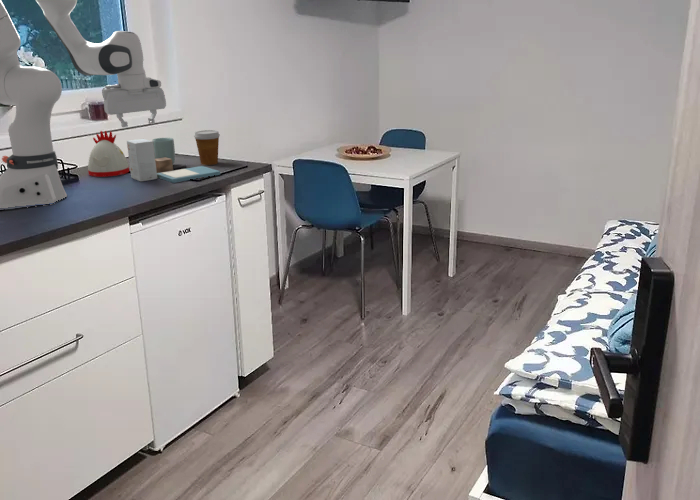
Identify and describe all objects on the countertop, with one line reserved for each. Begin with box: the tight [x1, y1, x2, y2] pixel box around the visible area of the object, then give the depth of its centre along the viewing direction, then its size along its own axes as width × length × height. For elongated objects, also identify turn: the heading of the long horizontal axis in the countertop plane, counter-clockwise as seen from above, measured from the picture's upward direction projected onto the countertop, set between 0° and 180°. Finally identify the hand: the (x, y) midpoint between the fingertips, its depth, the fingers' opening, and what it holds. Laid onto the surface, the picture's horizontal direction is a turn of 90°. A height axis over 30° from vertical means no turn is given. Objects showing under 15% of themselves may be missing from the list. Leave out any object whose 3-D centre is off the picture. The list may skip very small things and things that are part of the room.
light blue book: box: [157, 165, 221, 184], centre depth 222 cm, size 18×13×1 cm
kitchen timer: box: [87, 130, 130, 178], centre depth 227 cm, size 14×14×15 cm
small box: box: [126, 138, 158, 182], centre depth 217 cm, size 8×6×13 cm
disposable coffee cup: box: [193, 129, 221, 166], centre depth 240 cm, size 10×10×12 cm
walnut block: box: [155, 157, 174, 173], centre depth 227 cm, size 5×5×5 cm
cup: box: [151, 137, 176, 165], centre depth 237 cm, size 8×8×10 cm
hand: (138, 125), depth 213 cm, fingers open, 8 cm apart
